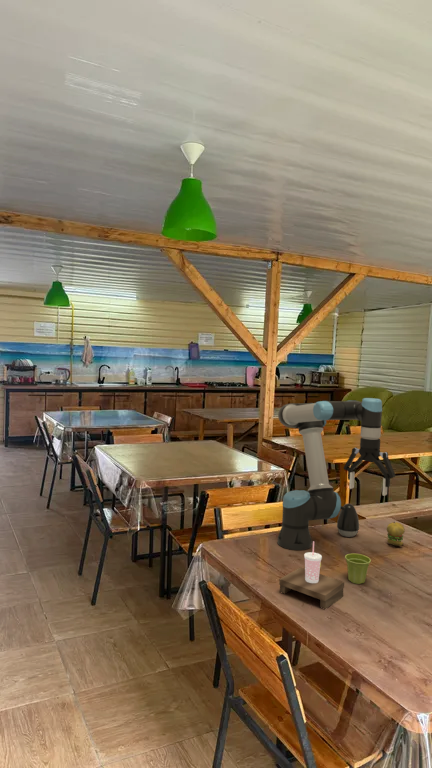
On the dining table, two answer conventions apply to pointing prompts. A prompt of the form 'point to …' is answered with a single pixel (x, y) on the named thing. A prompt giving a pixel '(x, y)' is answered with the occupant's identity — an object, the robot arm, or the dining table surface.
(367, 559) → the plant pot
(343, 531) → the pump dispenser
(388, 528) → the hamburger
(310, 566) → the beverage cup
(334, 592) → the walnut shelf
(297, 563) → the dining table surface
